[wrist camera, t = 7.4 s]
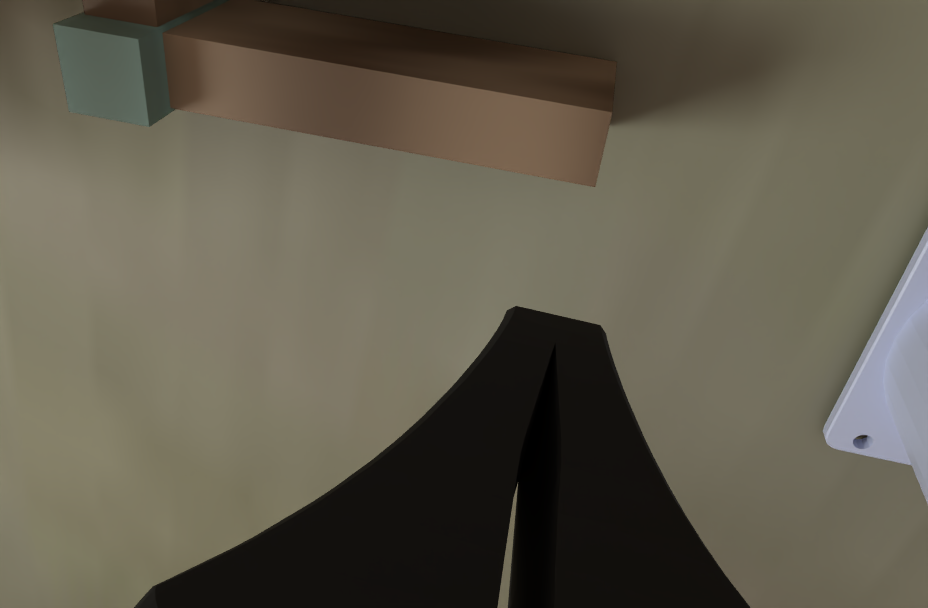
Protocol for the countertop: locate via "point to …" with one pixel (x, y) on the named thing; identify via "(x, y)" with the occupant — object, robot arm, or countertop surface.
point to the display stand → (341, 81)
